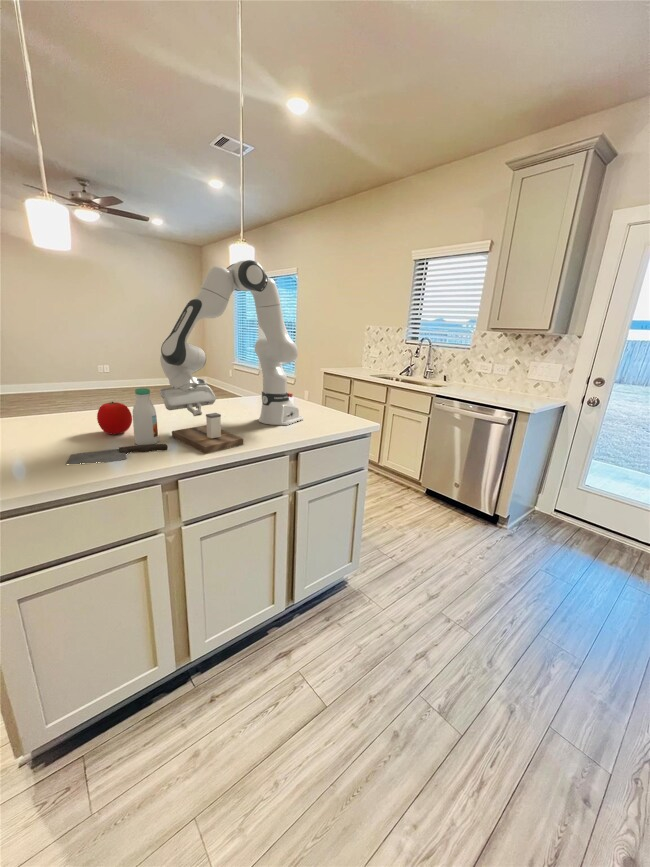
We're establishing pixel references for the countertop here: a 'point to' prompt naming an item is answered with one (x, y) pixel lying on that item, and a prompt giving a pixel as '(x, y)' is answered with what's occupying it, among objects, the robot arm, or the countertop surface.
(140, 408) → the milk bottle
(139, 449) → the cleaver
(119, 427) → the tomato
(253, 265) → the robot arm
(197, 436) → the wooden cutting board
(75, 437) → the countertop surface
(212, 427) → the white lidded container
